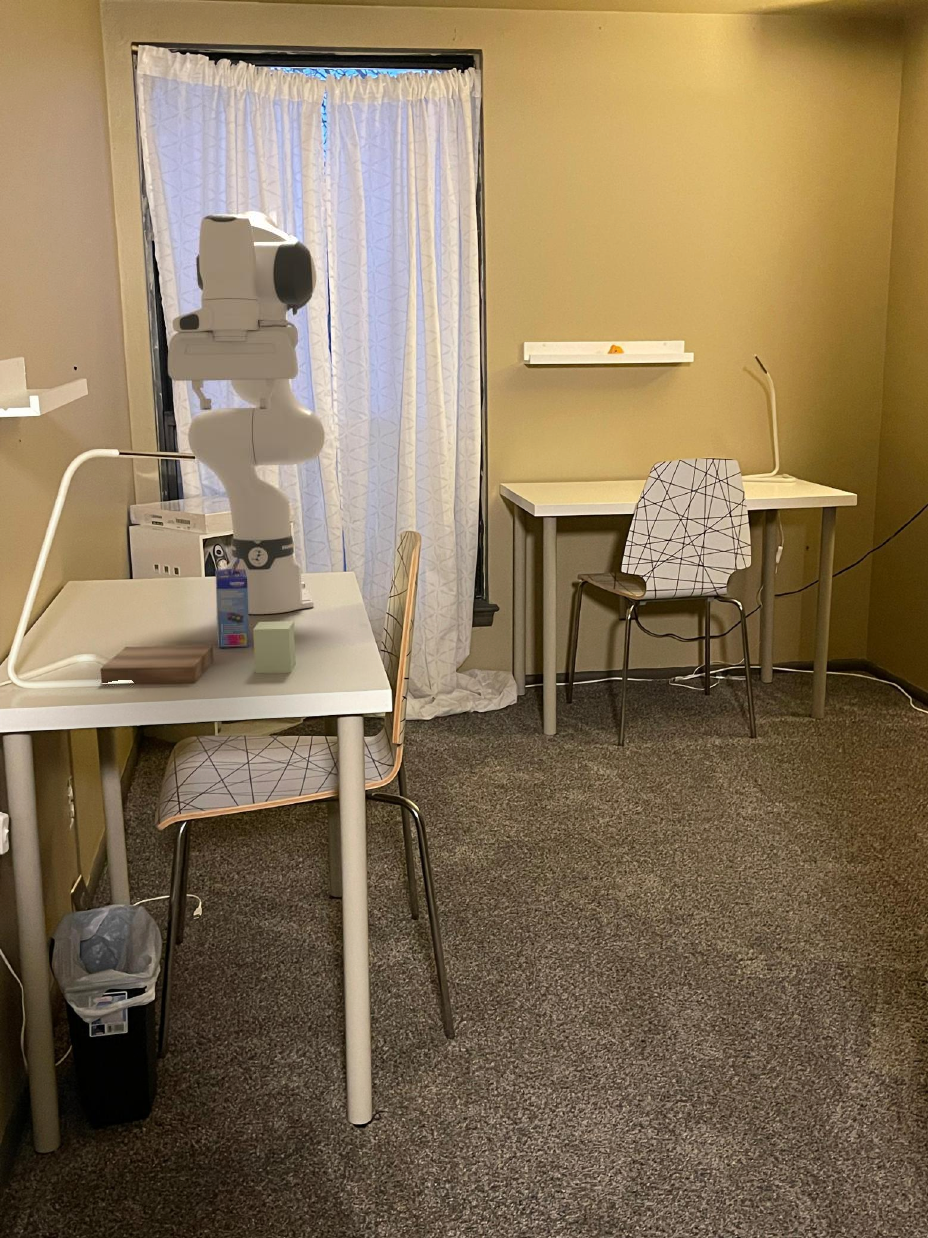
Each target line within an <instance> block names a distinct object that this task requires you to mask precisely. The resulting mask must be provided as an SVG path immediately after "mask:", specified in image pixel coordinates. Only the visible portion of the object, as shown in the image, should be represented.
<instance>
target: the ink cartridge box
mask: <svg viewBox="0 0 928 1238" xmlns="http://www.w3.org/2000/svg"><path fill="white" fill-rule="evenodd" d="M239 562H240V560H239V557H238V558H237V560H236V561H235V563H234V565H233V568H232V569H225V568H223V569H216V570H215V573H214V574H215V595H216V596H215V597H216V599H215V600H216V630H217V631H216V632H217V635H216V636H217V646H218V648H222V649H223V648H224V649H225V648H226V649H227V648H248V647H250V618H249V617H250V616H249V615H250V614H249V611H248V584H247V575H246V572H245V569H236V568H237V566H238V564H239Z"/></svg>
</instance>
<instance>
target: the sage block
mask: <svg viewBox="0 0 928 1238" xmlns="http://www.w3.org/2000/svg"><path fill="white" fill-rule="evenodd" d="M294 625H295V623H294V621H293V620H291V621H288V620H285V621H282V620H281V621H258V622H257V624H256V625H255V627H254V628H252V629H253V630H252V631H253V632H252V633H253V634H252V635H253V650H254V651H253V652H254V669H255V674H280V673H281V674H285V673H287V674H290V673H292V671H294V670H293V669H294V668H295V666H296V664H297V661H296V642H295V626H294Z"/></svg>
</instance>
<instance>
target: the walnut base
mask: <svg viewBox="0 0 928 1238" xmlns="http://www.w3.org/2000/svg"><path fill="white" fill-rule="evenodd" d="M213 648H214V647H213V644H212V645H211V644H209V645H208V644H207V645H206V644H204V645H202V644H201V645H156V646H154V645H152V646H150V645H149V646H146V645H145V646H125V647H124V648H123V649H122V650H120V652H119V651H118V653H117V654H116V655H114V656H113V657H112V658H111V659H110V660H108V661H107V662H106V663H105V664H104V665H103V666H102V667H101V668H99V669H100V679H101V681H100V682H101V684H102V683H108V682H112V681H118V680H132V681H133V682H134V684H133V685H145V684H147V685H150V684H151V685H152V684H153V685H154V684H156V685H157V684H159V685H160V684H161V685H162V684H195V683H196V682H197V681H198V680H199V679H200V678H201V676H202V675H203V674H204V672H205V671H206V670H208V668H209V666H210V665H211V664H212V663H213V662H214V649H213Z"/></svg>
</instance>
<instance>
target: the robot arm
mask: <svg viewBox="0 0 928 1238" xmlns="http://www.w3.org/2000/svg"><path fill="white" fill-rule="evenodd" d="M198 241H199V244H198V245H199V246H198V248H199V249H198V255H197V256H196V258H195V259H196V261H195V262H196V263H195V264H196V279H197V280H196V281H197V285H198V288H199V289H200V290H201V291H202V293H201V298H200V299H201V300H200V301H201V302H200V303H201V308H200V309H197V310H194V311H190V312H189V313H185V314H183V315H179V316H177V317H174V318H173V320H172V328H173V330H174V331H175V334H173V335H172V337H171V338H170V340H169V342H168V343H169V344H168V354H167V374H168V376H169V377H170V379H171V380H173V381H175V382H187V381H188V382H190V381H191V389H192V390H193V392H194V393H195V395H196V396H197V399H199V406H200V407H199V408H200V411H204V412H200V413H197V415H196V416H195V417H194V418H193V419H192V421H191V423H190V425H189V427H188V434H187V437H188V438H187V440H188V444H189V448H190V451H191V452H192V454H193V456H194V457H195V456H196V457H195V458H196V459H197V460H198V461H199V462H200V463H201V464H203V465H204V466H206V467H207V468H208V469H210V470H211V471H212V472H213V473H214V475H216V476H217V478H218V480H219V481H220V483H221V484H222V486H223V487H224V490H225V492H226V495H227V497H228V501H229V507H230V515H231V522H232V524H231V525H232V538H231V540H230V541H231V545H230V549H231V556H232V559H231V561H230V563H228V564H227V565H226V566H225V568H224V569H232V568H233V565H234V563H235V561H236V560H237V558H238V557H239V560H240V562H239V564H238V566H237V568H236V569H245V572H246V575H247V584H248V611H249V615H264V614H265V615H268V614H270V615H271V614H280V613H286V612H287V613H288V612H292V611H296V610H302V609H308V608H314V601H313V599H312V596H311V594H310V592H309V590H308V589H306V584H305V582H304V581H302V567H301V565H300V564H299V562H298V561H296V559H295V557H294V553H295V549H294V548H295V547H294V546H295V543H294V537H293V536H292V535H291V519H290V501H289V498H288V496H287V495H286V493H285V492H284V491H283V490H282V489H281V488H279V487H277V486H276V485H274V484H271V483H269V482H266V481H264V480H263V479H261V478H260V476H259V475H258V474H257V472H256V471H257V470H256V467H258V466H293V465H298V464H302V463H307V462H311V461H314V460H315V459H316V458H318V456H319V455H320V453H321V452H322V449H323V447H324V444H325V430H324V426H323V423H322V421H321V419H320V418H319V417H318V415H317V414H316V413H315V412H314V411H313V410H311V409H309V408H307V407H306V406H305V405H303V404H302V403H301V402H300V400H298V399H297V397H296V396H295V395H294V393H293V391H292V389H291V384H290V380H294V379H296V377H297V376H298V375H299V367H298V358H297V353H296V349H295V348H296V347H297V345H298V342H299V335H298V332H299V331H298V328H297V327H296V325H294V323H292V322H289V321H288V319H287V312H289V311H290V310H291V309H292V311H291V312H292V315H293V316H295V315H297V314H298V310H300V309H302V308H303V307H304V306H306V305H307V304H308V303H309V301H311V299H312V297H313V294H314V291H315V288H316V287H317V286H316V285H317V271H316V267H315V262H314V261H315V260H314V259H313V256H312V254H311V251H310V250H309V248H307V247H306V245H305V244H303V243H302V242H301V241H300V240H298V238H297V237H296V236H293V235H291V234H289V233H287V232H284V231H283V230H280V229H279V228H278V226H277V224H276V222H275V221H274V220H273V219H272V218H271V217H270V216H268V215H267V214H265V213H263V212H259V211H252V210H251V211H244V212H241V213H238V214H234V213H233V214H232V213H228V214H227V213H225V214H224V213H223V214H222V213H221V214H220V213H219V214H208V215H206V216H204V217H203V218H202V219H201V223H200V229H199V240H198ZM204 381H230V382H231V386H232V389H233V391H234V392H235V393H236V394H237V396H239V397H240V398H241V399H242V400H243V401H245V402H246V403H248V404H250V405H252V406H254V407H235V408H234V407H231V408H230V407H229V408H224V407H223V408H217V409H212V408H213V407H212V398H206V396H205V395H204V392H203V391H202V389H203V388H204Z"/></svg>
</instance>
